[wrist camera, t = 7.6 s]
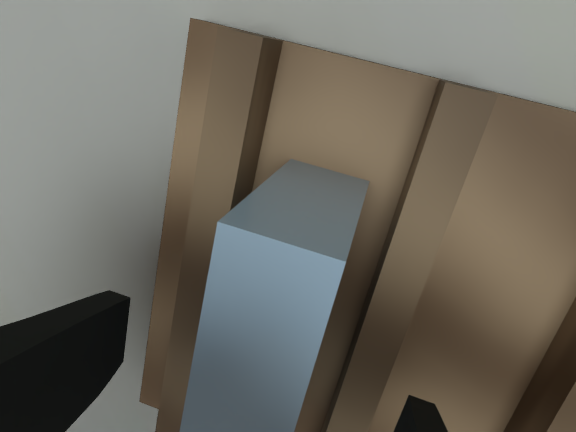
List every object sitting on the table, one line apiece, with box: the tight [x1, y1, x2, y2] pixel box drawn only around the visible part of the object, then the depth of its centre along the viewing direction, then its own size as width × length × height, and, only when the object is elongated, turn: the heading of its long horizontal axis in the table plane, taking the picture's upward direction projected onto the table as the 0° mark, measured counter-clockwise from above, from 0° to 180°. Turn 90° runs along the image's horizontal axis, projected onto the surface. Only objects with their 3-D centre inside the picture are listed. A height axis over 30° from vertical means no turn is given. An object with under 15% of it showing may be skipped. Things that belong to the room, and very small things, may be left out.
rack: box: [140, 18, 576, 432], centre depth 15 cm, size 15×16×3 cm
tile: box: [180, 159, 370, 432], centre depth 13 cm, size 9×2×6 cm, turn 167°
